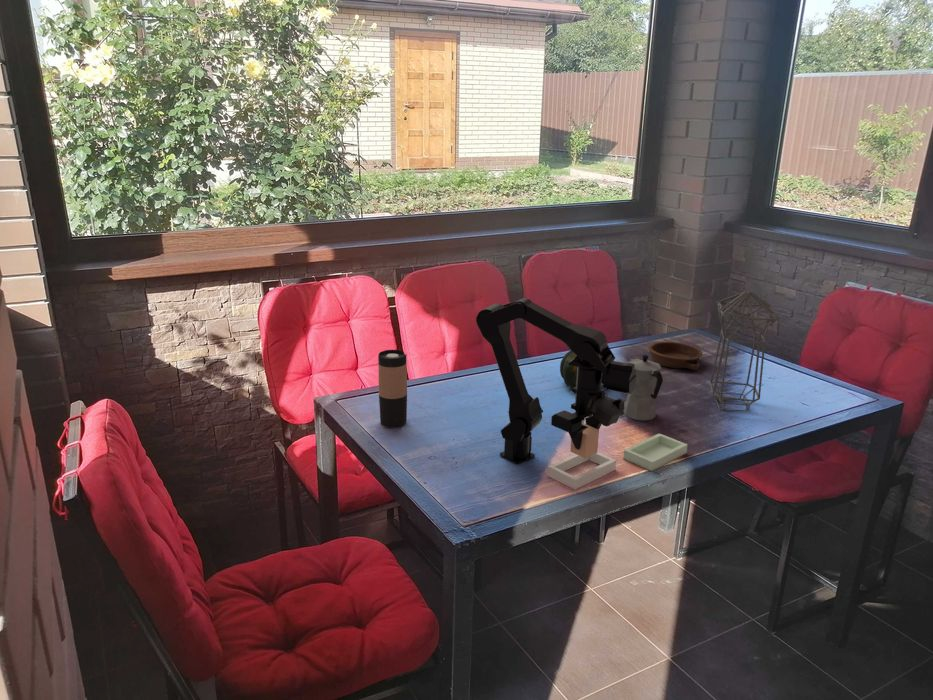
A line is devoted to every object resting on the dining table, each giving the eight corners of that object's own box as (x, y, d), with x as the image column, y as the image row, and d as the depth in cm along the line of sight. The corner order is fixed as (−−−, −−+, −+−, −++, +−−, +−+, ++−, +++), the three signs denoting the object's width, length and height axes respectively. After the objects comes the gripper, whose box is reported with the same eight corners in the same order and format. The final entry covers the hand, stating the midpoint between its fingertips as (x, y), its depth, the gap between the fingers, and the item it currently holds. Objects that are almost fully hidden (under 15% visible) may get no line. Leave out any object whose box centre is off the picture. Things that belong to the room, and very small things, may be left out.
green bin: (651, 471, 179) (652, 462, 178) (623, 458, 185) (624, 449, 184) (686, 453, 189) (687, 444, 188) (658, 441, 195) (659, 433, 194)
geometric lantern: (702, 393, 227) (717, 283, 216) (756, 398, 224) (773, 286, 213) (707, 413, 212) (723, 296, 201) (765, 419, 210) (784, 300, 198)
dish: (675, 377, 241) (676, 362, 239) (633, 356, 259) (634, 342, 258) (716, 370, 248) (718, 356, 246) (672, 350, 267) (673, 337, 265)
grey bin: (574, 489, 170) (575, 479, 170) (547, 475, 176) (548, 466, 176) (615, 469, 180) (616, 460, 179) (588, 457, 186) (589, 448, 185)
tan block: (585, 458, 173) (586, 435, 171) (570, 451, 176) (571, 428, 175) (597, 452, 176) (599, 429, 174) (582, 446, 179) (584, 423, 177)
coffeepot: (613, 407, 216) (618, 349, 210) (641, 403, 219) (647, 346, 213) (641, 429, 202) (647, 367, 196) (671, 424, 205) (678, 364, 199)
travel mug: (374, 425, 201) (372, 356, 195) (387, 415, 208) (386, 347, 202) (399, 430, 199) (398, 360, 192) (412, 419, 206) (411, 351, 199)
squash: (544, 369, 229) (576, 340, 221) (565, 358, 241) (596, 330, 233) (572, 405, 227) (606, 378, 218) (592, 392, 239) (625, 365, 230)
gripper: (589, 406, 159) (585, 470, 164) (641, 385, 171) (635, 446, 176) (551, 390, 167) (547, 453, 172) (603, 372, 179) (598, 431, 184)
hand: (584, 446), depth 176 cm, fingers closed on tan block, 4 cm apart
